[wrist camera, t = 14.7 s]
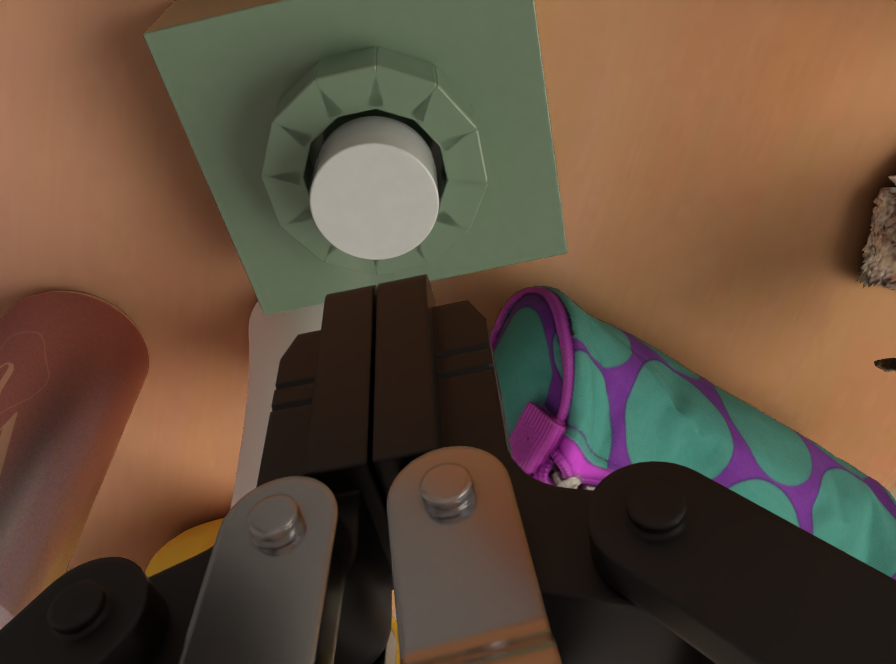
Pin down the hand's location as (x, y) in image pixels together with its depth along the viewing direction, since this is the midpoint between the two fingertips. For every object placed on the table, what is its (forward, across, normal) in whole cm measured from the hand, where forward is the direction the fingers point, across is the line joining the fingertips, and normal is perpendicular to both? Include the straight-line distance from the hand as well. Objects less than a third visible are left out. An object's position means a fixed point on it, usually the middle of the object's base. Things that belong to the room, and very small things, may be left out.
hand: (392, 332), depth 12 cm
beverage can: (+18, +16, +10) cm, 26 cm away
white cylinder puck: (+12, +1, +3) cm, 12 cm away
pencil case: (+18, -8, +20) cm, 28 cm away
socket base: (+18, +1, +3) cm, 18 cm away
